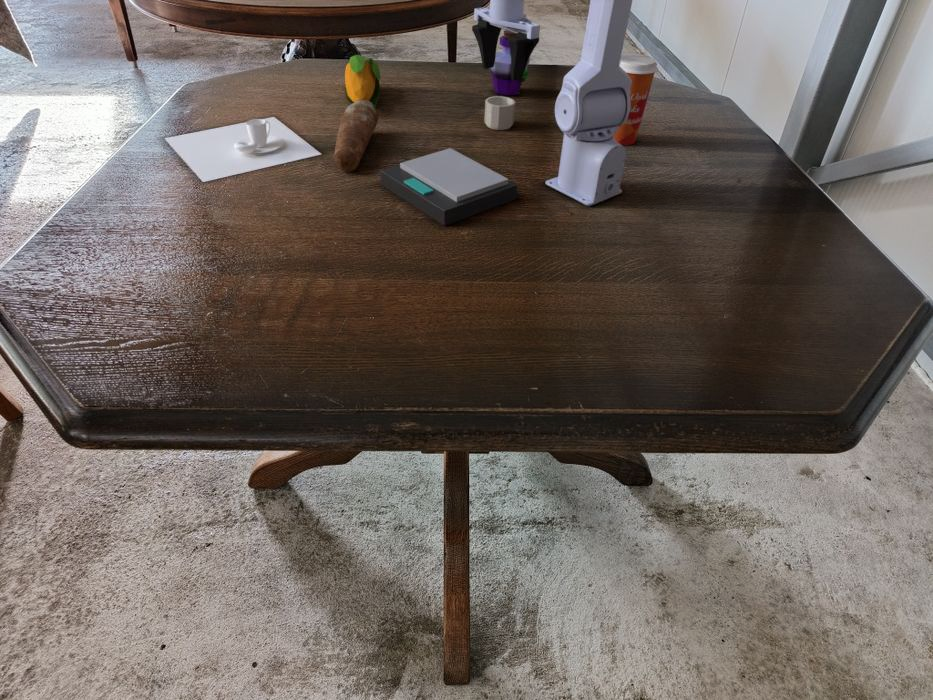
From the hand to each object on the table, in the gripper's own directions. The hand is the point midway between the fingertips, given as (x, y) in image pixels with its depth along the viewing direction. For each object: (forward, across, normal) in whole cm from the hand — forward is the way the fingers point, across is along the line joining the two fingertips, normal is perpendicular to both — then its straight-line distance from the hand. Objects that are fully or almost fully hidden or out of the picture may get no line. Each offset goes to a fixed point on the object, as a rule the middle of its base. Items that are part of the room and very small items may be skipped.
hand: (502, 73), depth 112 cm
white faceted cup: (+9, 0, 0) cm, 9 cm away
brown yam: (+10, +5, +28) cm, 30 cm away
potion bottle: (+10, +13, -14) cm, 21 cm away
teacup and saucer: (+10, +18, +43) cm, 48 cm away
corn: (+10, +25, +14) cm, 30 cm away
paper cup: (+10, -18, -14) cm, 25 cm away
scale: (+9, -16, +25) cm, 31 cm away
